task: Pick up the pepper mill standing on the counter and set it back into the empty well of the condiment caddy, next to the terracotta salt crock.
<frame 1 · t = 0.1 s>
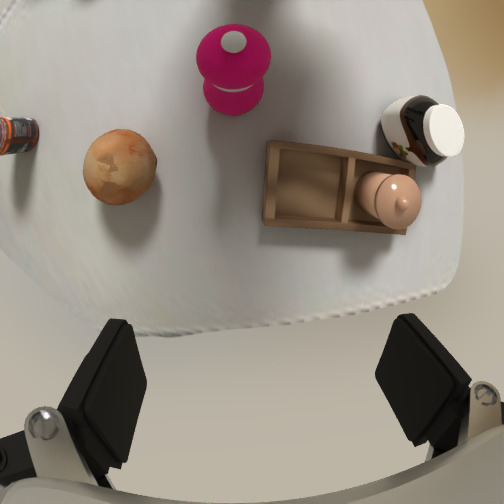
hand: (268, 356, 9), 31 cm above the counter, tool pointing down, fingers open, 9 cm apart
spread jar: (409, 131, 36), on the counter
onion: (132, 164, 35), on the counter
salt crock: (372, 192, 37), resting on caddy
pepper mill: (233, 94, 33), on the counter
supplement bottle: (29, 134, 31), on the counter
caddy: (338, 187, 38), on the counter
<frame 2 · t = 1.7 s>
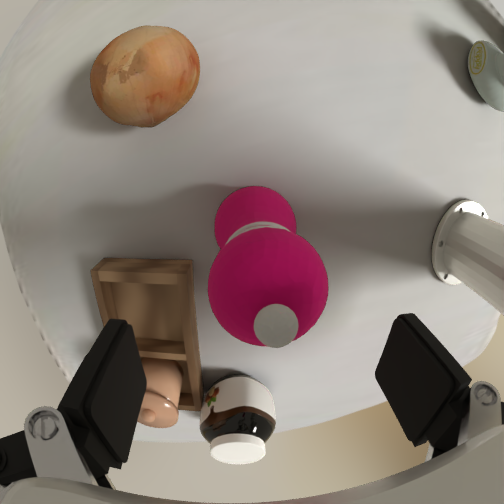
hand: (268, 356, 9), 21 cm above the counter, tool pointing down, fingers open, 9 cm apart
spread jar: (240, 396, 38), on the counter
onion: (160, 86, 23), on the counter
salt crock: (161, 370, 34), resting on caddy
pepper mill: (252, 215, 29), on the counter
caddy: (157, 336, 33), on the counter
air freshener: (480, 77, 22), on the counter
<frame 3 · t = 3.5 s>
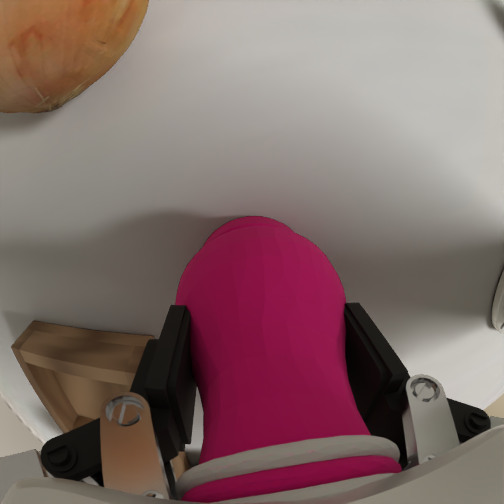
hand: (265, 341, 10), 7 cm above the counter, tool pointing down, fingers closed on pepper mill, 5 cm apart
onion: (92, 44, 10), on the counter
pepper mill: (252, 267, 16), on the counter, touching gripper
caddy: (121, 418, 20), on the counter
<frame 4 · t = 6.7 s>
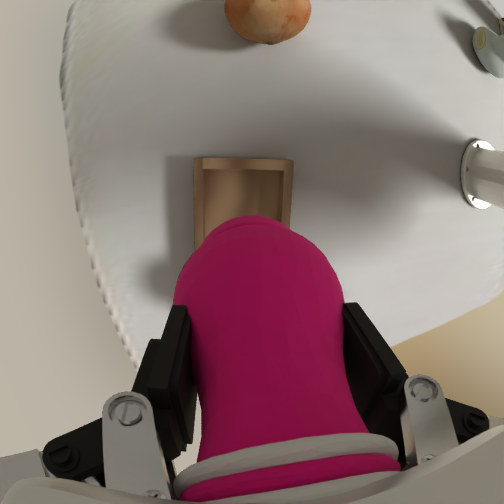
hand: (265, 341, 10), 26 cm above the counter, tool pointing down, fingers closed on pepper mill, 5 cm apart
onion: (263, 24, 26), on the counter
pepper mill: (250, 266, 16), point 20 cm above the counter, touching gripper
caddy: (240, 243, 36), on the counter
air freshener: (482, 53, 26), on the counter
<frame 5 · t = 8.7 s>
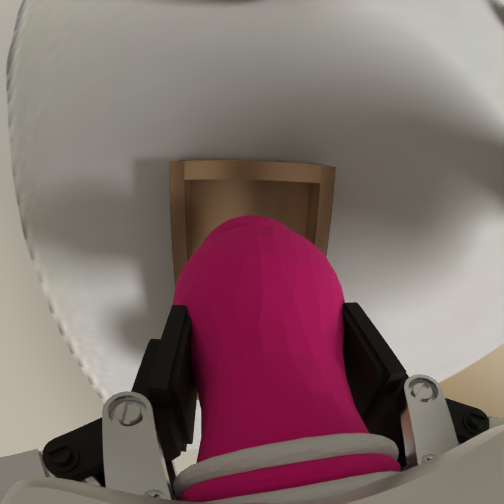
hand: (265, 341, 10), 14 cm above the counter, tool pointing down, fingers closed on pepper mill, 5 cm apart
pepper mill: (250, 266, 16), point 7 cm above the counter, touching gripper
caddy: (246, 288, 24), on the counter
when the fingers open (9 cm above the counter, at t = 10.2 s): pepper mill drops 1 cm, resting on caddy.
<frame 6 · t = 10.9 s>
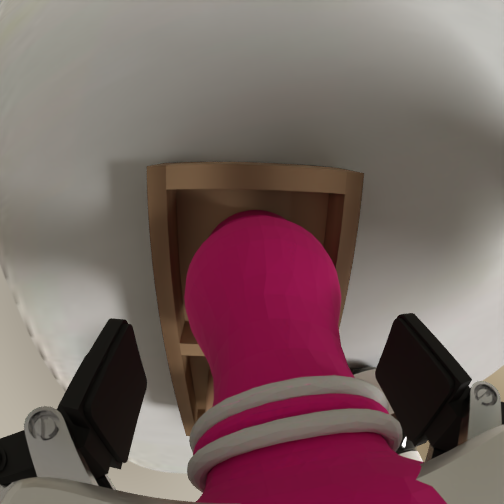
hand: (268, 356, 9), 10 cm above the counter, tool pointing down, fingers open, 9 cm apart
spread jar: (347, 401, 25), on the counter
pepper mill: (254, 257, 17), point 1 cm above the counter, touching caddy
caddy: (248, 318, 20), on the counter
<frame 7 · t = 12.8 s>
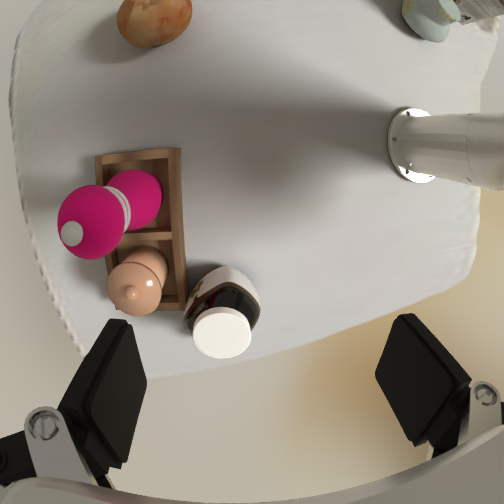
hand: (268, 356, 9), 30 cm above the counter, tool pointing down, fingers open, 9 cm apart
spread jar: (224, 301, 42), on the counter
onion: (161, 29, 27), on the counter
coffee box: (452, 6, 26), on the counter
salt crock: (147, 266, 38), resting on caddy
pepper mill: (142, 194, 34), point 1 cm above the counter, touching caddy
caddy: (145, 229, 37), on the counter
air freshener: (416, 21, 28), on the counter
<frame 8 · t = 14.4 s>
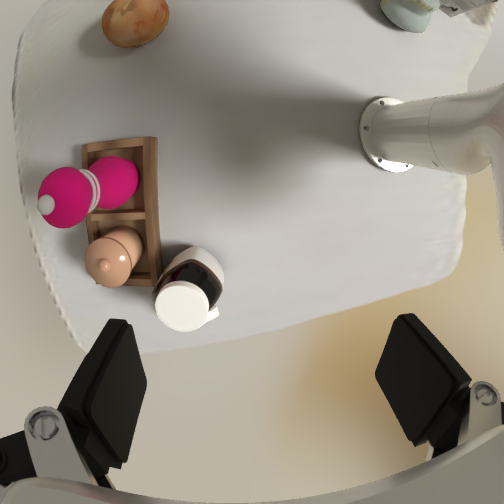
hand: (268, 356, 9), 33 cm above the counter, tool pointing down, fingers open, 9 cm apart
spread jar: (196, 281, 45), on the counter
onion: (145, 30, 29), on the counter
salt crock: (126, 244, 40), resting on caddy
pepper mill: (122, 178, 37), point 1 cm above the counter, touching caddy
caddy: (125, 211, 39), on the counter
air freshener: (397, 13, 29), on the counter
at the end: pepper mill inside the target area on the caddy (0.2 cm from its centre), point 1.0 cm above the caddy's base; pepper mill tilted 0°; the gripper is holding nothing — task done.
